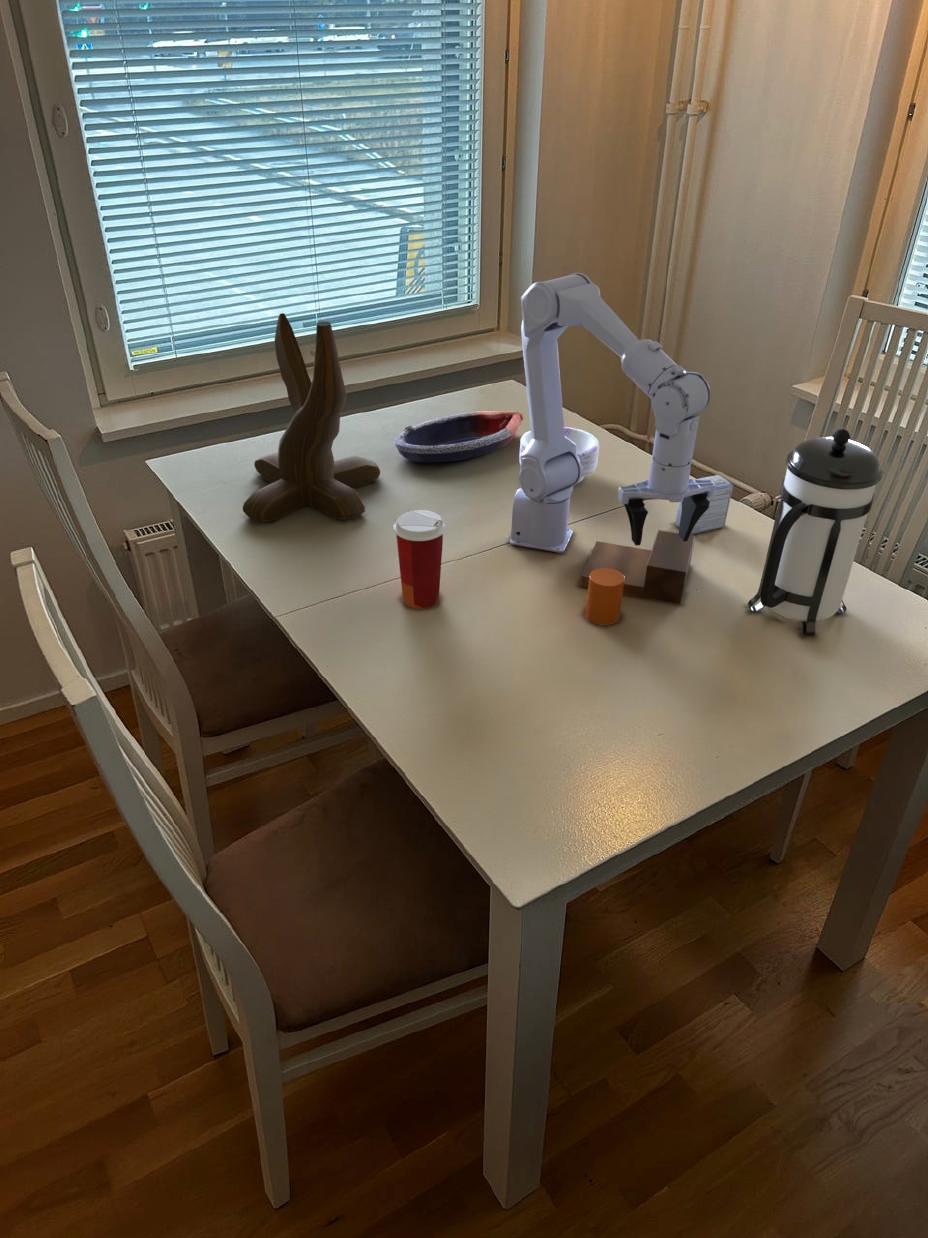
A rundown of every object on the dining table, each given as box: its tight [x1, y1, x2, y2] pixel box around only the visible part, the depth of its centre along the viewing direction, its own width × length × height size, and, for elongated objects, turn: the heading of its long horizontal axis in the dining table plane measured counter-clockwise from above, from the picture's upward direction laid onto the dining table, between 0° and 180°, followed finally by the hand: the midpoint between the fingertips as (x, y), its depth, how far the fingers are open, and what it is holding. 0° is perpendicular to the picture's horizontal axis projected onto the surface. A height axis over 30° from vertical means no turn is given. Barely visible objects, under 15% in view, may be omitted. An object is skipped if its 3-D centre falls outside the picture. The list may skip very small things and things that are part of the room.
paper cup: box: [392, 509, 446, 610], centre depth 140 cm, size 8×8×14 cm
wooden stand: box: [242, 312, 381, 523], centre depth 164 cm, size 29×29×35 cm
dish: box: [394, 410, 524, 463], centre depth 190 cm, size 16×31×5 cm, turn 121°
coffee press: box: [747, 428, 884, 638], centre depth 133 cm, size 17×16×30 cm
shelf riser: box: [579, 529, 696, 605], centre depth 149 cm, size 16×12×6 cm
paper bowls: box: [518, 426, 600, 486], centre depth 178 cm, size 15×15×8 cm
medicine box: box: [674, 474, 734, 535], centre depth 162 cm, size 8×4×9 cm, turn 113°
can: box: [585, 568, 624, 626], centre depth 139 cm, size 5×5×7 cm
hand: (659, 540), depth 141 cm, fingers open, 7 cm apart
